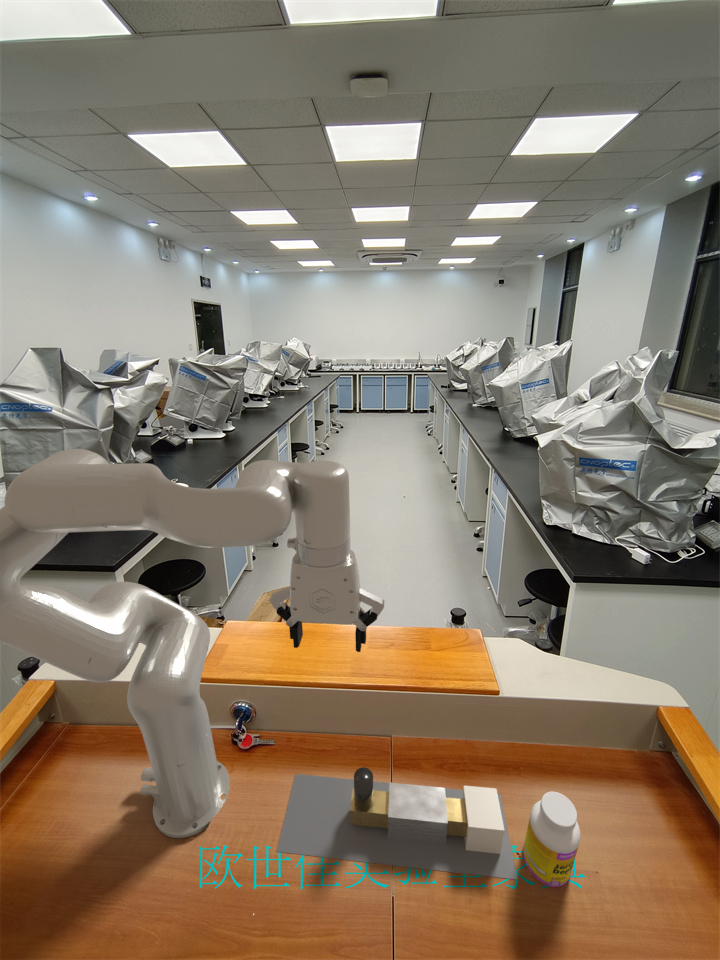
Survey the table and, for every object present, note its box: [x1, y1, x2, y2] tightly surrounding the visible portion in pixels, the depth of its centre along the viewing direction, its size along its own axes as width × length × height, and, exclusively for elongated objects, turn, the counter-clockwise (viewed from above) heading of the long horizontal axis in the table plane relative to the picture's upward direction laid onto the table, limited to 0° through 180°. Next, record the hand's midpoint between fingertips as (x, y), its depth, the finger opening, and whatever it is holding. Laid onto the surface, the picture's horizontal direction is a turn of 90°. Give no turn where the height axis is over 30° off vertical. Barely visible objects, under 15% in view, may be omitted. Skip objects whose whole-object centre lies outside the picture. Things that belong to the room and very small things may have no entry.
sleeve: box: [388, 782, 448, 845], centre depth 68 cm, size 9×5×5 cm, turn 84°
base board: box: [276, 773, 518, 881], centre depth 69 cm, size 36×12×1 cm, turn 84°
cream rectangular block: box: [462, 785, 505, 854], centre depth 67 cm, size 5×6×6 cm
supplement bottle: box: [522, 791, 581, 888], centre depth 62 cm, size 7×7×13 cm
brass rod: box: [350, 766, 467, 837], centre depth 67 cm, size 22×3×9 cm, turn 84°
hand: (328, 643), depth 66 cm, fingers open, 9 cm apart
